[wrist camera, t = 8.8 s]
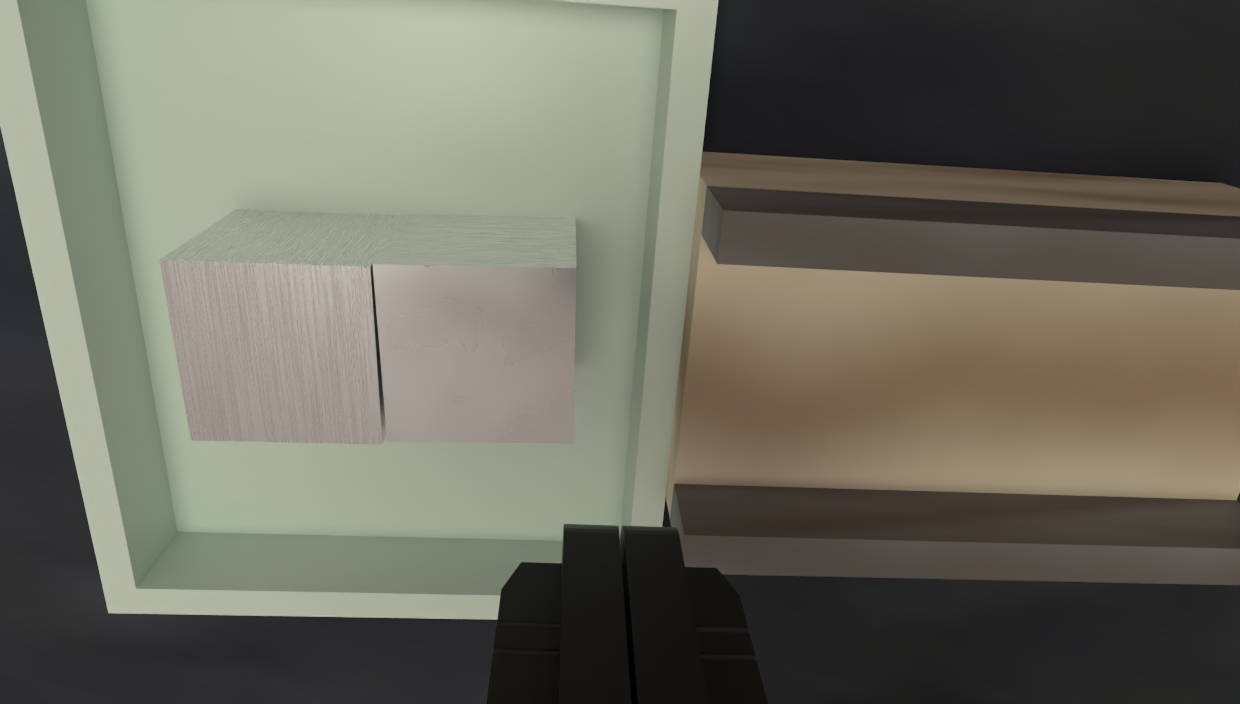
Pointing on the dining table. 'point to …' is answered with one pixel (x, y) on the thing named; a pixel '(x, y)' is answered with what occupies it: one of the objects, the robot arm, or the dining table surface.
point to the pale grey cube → (280, 327)
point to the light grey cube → (478, 329)
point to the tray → (351, 184)
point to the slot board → (958, 375)
